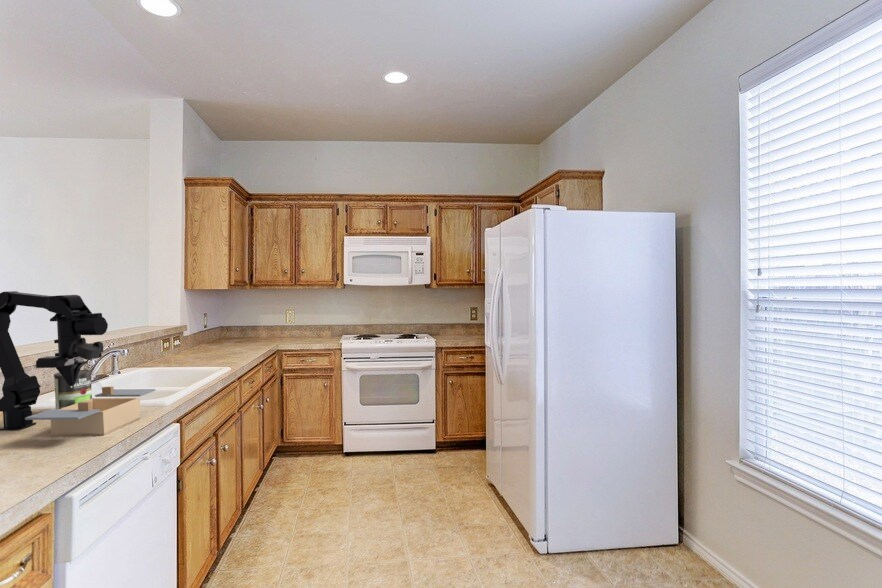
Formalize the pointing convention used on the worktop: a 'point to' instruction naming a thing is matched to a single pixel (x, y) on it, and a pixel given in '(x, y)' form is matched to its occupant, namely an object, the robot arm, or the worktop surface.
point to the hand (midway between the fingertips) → (71, 385)
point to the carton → (99, 417)
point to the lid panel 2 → (123, 392)
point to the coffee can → (72, 389)
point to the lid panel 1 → (66, 413)
